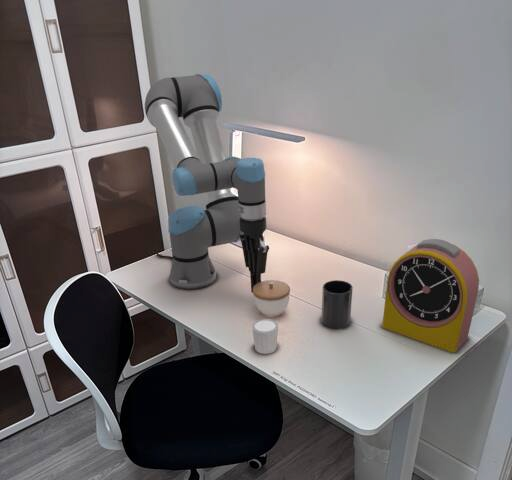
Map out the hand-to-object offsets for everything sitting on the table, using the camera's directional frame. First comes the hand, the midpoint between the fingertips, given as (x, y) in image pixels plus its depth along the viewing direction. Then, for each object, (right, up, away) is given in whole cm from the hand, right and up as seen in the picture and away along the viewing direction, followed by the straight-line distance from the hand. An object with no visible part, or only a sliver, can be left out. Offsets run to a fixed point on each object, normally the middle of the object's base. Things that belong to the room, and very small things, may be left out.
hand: (256, 291), depth 159 cm
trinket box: (+5, -7, -4) cm, 9 cm away
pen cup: (+23, -10, -10) cm, 27 cm away
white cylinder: (+2, -17, -20) cm, 26 cm away
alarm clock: (+46, -13, -17) cm, 50 cm away
